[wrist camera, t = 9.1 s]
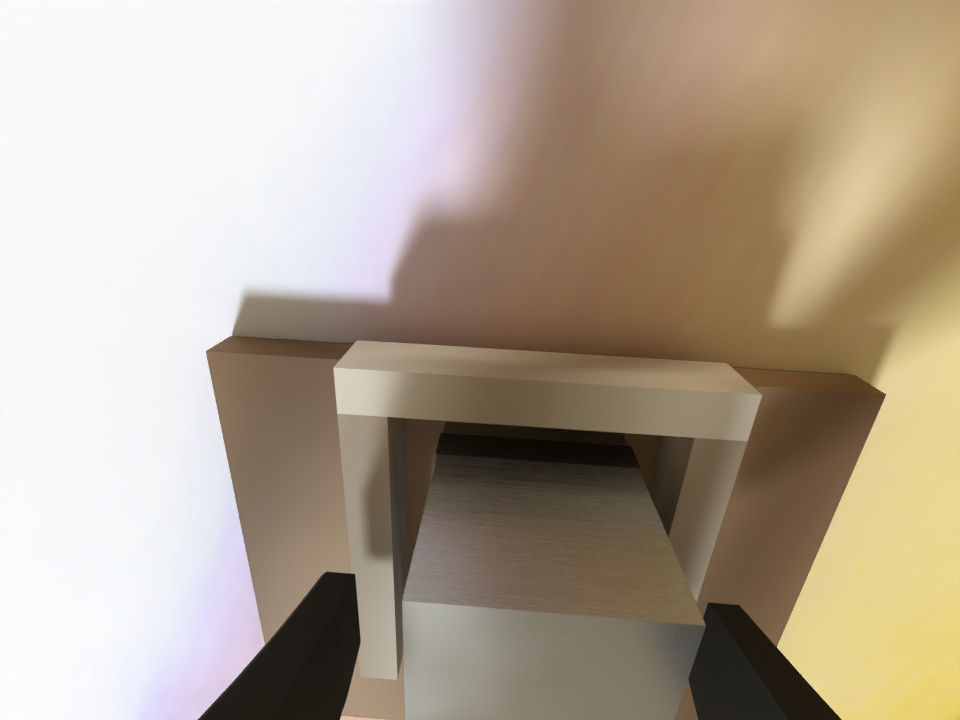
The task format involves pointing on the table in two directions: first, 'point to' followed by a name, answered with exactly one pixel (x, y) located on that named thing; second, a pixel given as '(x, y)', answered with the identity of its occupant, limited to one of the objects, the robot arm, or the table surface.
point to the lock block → (543, 584)
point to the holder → (534, 403)
